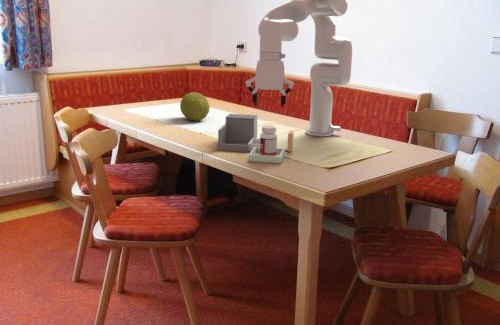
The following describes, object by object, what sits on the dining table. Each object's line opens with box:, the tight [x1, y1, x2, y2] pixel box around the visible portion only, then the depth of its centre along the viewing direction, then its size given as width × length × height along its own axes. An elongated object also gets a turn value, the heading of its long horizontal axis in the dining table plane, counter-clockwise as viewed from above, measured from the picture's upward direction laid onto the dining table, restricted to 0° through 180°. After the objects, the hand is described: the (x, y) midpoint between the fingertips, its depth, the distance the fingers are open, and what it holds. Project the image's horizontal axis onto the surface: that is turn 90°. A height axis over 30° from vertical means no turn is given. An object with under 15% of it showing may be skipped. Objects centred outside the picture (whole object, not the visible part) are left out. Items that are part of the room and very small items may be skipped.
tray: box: [248, 147, 286, 165], centre depth 178 cm, size 12×12×3 cm
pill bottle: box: [259, 124, 278, 156], centre depth 177 cm, size 6×6×11 cm
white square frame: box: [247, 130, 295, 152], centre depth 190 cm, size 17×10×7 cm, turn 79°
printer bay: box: [217, 113, 258, 153], centre depth 195 cm, size 12×20×11 cm, turn 169°
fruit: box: [179, 91, 211, 122], centre depth 239 cm, size 16×14×15 cm
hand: (269, 105), depth 173 cm, fingers open, 9 cm apart
